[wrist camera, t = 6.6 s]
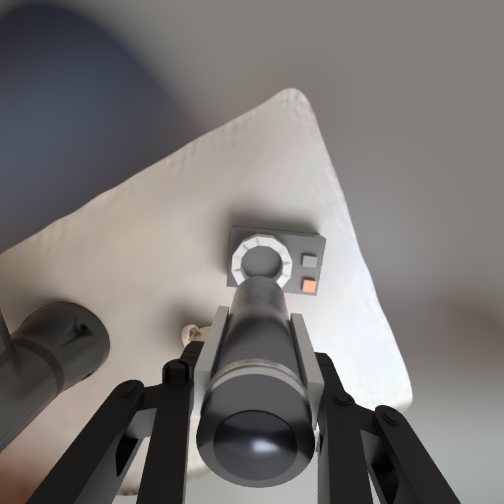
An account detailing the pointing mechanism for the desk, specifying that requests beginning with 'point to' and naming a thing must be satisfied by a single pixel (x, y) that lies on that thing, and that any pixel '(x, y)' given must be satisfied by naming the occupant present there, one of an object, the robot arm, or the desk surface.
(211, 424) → the grey flashlight
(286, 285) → the camera body
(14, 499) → the desk surface
